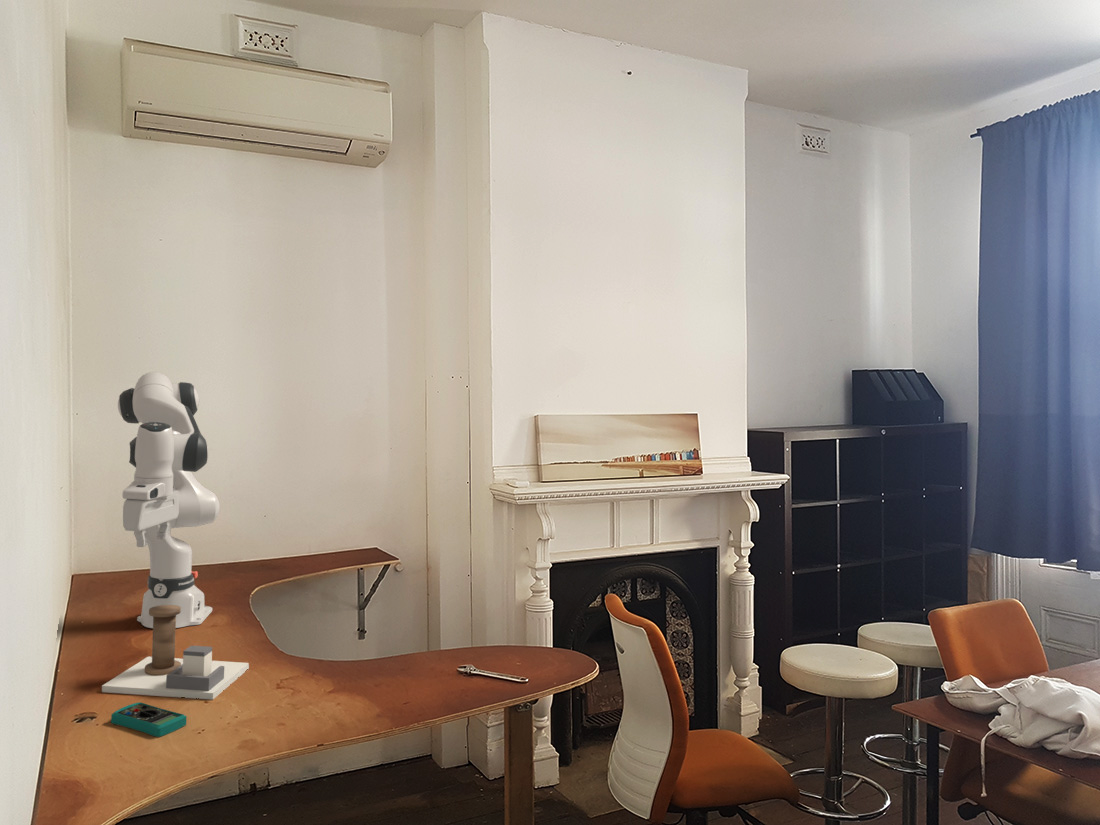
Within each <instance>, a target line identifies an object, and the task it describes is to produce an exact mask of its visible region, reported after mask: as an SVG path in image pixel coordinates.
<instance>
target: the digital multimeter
mask: <svg viewBox="0 0 1100 825" xmlns="http://www.w3.org/2000/svg"><path fill="white" fill-rule="evenodd" d="M110 718H111V719H110V720H111V721H110V722H111V724H114V725H116V726H117V725H118V726H121V727H124V728H126V729H130V730H134V731H138V732H141V733H145V734H147V735H148V736H149V735H150V736H152V737H153V736H154V737H156V738H160V737H163V736H166V735H168V734H170V733H173V732H175V731H177V730H179V729H182V728H183V727H184V726H186V725H187V719H188V718H187V715H185V714H182V713H179V712H175V711H172V710H167V709H163V708H161V707H157V706H153V705H151V704H150V705H149V704H147V703H144V702H136V703H135V702H134V703H131V704H128V705H126V706H123V707H121V708H119V709H118V710H115V711H114V712H113V713H111V717H110Z"/></svg>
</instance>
